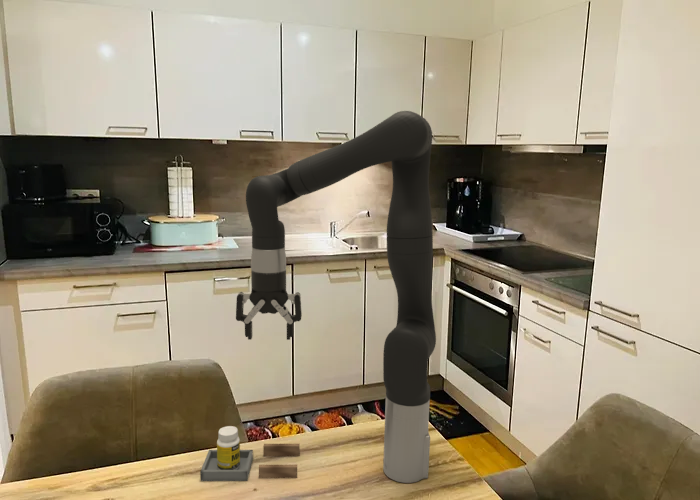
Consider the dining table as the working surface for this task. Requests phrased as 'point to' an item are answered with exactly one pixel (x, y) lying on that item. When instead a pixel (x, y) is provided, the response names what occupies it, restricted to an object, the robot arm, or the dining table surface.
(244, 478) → the tray
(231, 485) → the dining table surface
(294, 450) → the slot rails
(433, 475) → the dining table surface
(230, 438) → the supplement bottle
